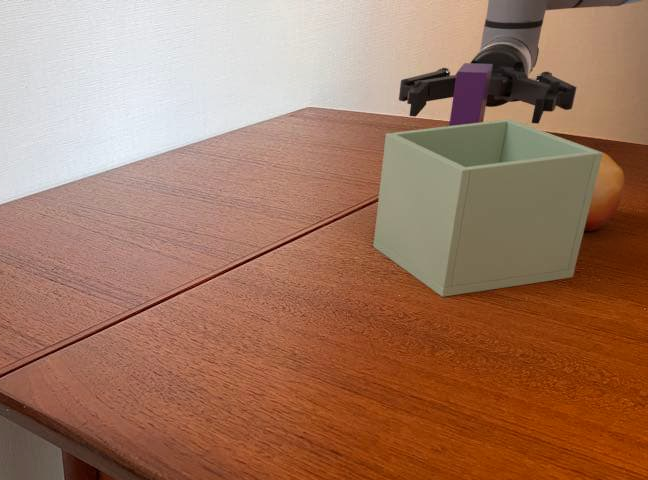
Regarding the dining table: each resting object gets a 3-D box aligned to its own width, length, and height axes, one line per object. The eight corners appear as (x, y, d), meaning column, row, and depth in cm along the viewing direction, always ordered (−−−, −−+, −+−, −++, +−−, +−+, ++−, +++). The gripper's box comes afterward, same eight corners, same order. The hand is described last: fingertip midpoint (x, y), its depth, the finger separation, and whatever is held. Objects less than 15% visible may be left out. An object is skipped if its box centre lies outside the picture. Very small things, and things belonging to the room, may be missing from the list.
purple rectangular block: (440, 181, 99) (457, 71, 92) (448, 169, 102) (464, 63, 96) (468, 183, 97) (486, 72, 91) (474, 171, 101) (492, 63, 95)
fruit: (631, 200, 86) (640, 140, 79) (603, 260, 83) (610, 204, 77) (546, 188, 90) (547, 130, 84) (517, 245, 88) (517, 190, 82)
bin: (489, 230, 85) (509, 118, 79) (573, 277, 74) (603, 152, 69) (373, 246, 83) (385, 133, 77) (442, 297, 72) (462, 170, 67)
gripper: (594, 106, 113) (585, 148, 97) (400, 97, 124) (363, 133, 108) (608, 45, 109) (601, 78, 93) (406, 41, 120) (369, 70, 104)
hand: (473, 108), depth 101 cm, fingers open, 13 cm apart
